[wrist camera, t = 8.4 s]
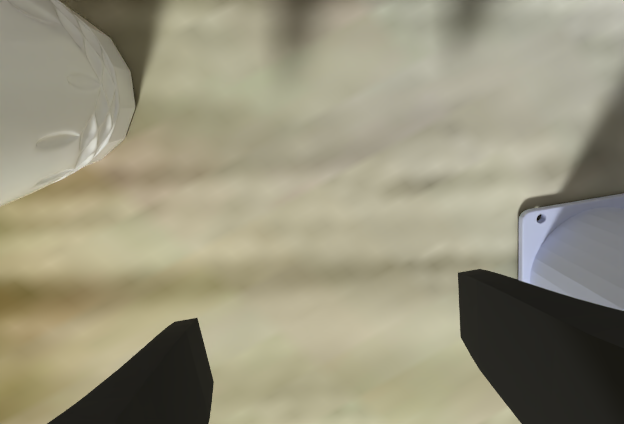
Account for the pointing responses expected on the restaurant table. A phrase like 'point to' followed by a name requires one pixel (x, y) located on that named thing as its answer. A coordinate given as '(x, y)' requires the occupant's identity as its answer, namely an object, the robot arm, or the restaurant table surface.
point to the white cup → (56, 95)
